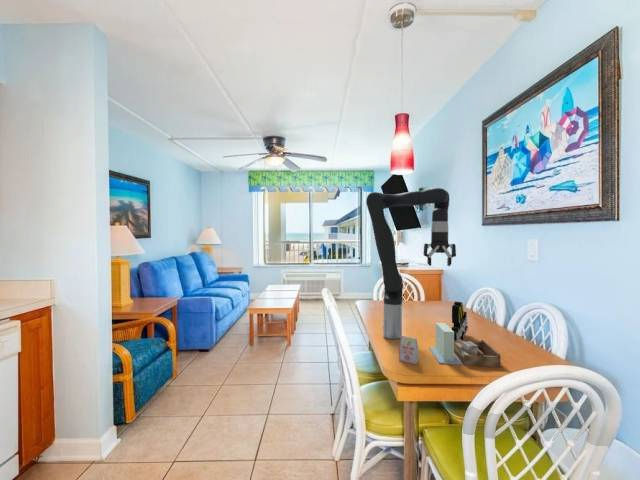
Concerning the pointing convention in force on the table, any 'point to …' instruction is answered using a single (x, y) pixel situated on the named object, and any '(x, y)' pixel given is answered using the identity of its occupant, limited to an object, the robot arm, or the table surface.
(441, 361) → the mat
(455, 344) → the offcut
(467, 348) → the offcut
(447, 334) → the pale green slab
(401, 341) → the printed grey box
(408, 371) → the table surface
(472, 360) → the wooden tray
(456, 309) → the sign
